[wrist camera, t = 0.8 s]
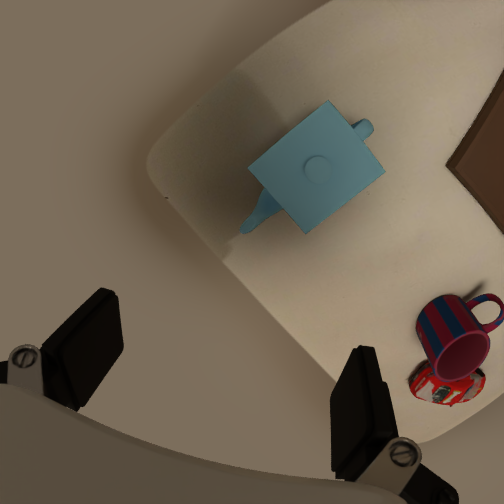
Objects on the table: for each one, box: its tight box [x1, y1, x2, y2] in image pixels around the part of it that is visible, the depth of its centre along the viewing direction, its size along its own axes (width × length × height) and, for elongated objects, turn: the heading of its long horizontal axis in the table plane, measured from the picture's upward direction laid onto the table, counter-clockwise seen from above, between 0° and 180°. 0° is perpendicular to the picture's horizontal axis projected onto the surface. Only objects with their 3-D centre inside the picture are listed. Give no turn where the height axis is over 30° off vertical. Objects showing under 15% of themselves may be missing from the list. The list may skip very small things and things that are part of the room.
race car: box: [409, 363, 486, 407], centre depth 30 cm, size 13×5×4 cm, turn 73°
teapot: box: [240, 100, 385, 234], centre depth 22 cm, size 12×6×8 cm, turn 132°
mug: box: [416, 294, 504, 382], centre depth 25 cm, size 7×10×7 cm
